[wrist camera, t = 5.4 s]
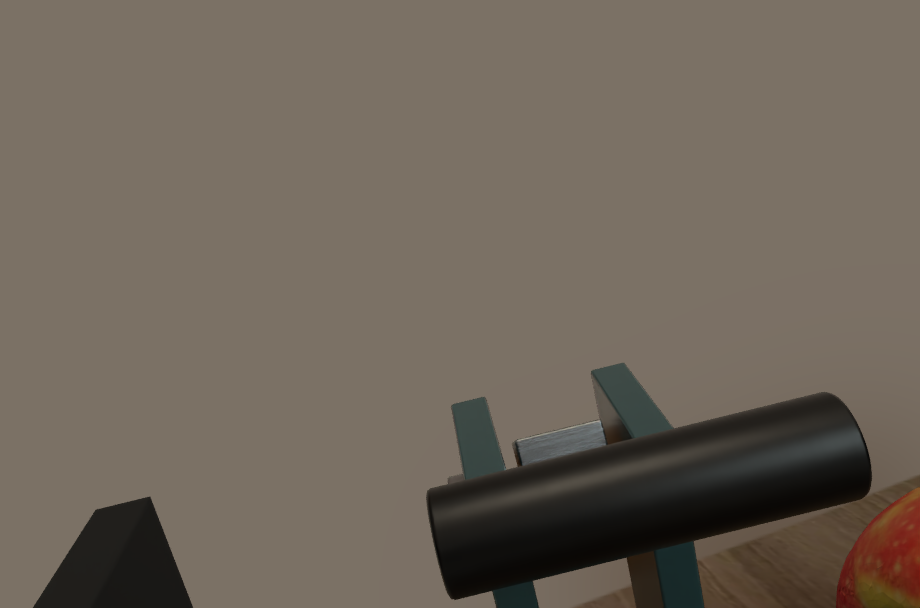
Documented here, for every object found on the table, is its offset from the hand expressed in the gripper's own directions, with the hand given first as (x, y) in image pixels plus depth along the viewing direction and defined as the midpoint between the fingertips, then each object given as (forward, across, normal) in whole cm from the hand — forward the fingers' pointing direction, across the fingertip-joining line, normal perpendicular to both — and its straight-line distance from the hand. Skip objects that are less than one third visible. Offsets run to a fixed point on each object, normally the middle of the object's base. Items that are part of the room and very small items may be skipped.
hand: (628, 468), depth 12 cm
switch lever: (+4, 0, -4) cm, 5 cm away
